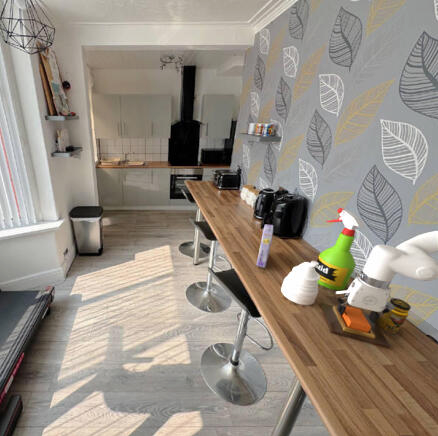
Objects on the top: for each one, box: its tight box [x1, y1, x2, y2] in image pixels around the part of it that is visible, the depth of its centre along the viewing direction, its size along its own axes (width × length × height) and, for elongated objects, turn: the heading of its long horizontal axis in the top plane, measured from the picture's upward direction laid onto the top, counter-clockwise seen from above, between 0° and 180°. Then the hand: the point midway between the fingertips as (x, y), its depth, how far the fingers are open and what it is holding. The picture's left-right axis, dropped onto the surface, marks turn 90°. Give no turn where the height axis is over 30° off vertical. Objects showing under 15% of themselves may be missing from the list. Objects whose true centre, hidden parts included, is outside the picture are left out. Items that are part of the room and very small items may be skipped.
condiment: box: [376, 297, 411, 334], centre depth 88 cm, size 7×8×12 cm
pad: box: [341, 305, 371, 333], centre depth 88 cm, size 6×9×4 cm, turn 159°
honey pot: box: [280, 260, 320, 306], centre depth 100 cm, size 13×13×18 cm
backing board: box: [319, 302, 391, 349], centre depth 89 cm, size 17×15×2 cm
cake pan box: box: [255, 224, 274, 269], centre depth 126 cm, size 19×5×18 cm, turn 152°
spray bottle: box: [314, 207, 365, 291], centre depth 108 cm, size 14×18×35 cm
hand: (355, 316), depth 87 cm, fingers open, 9 cm apart
